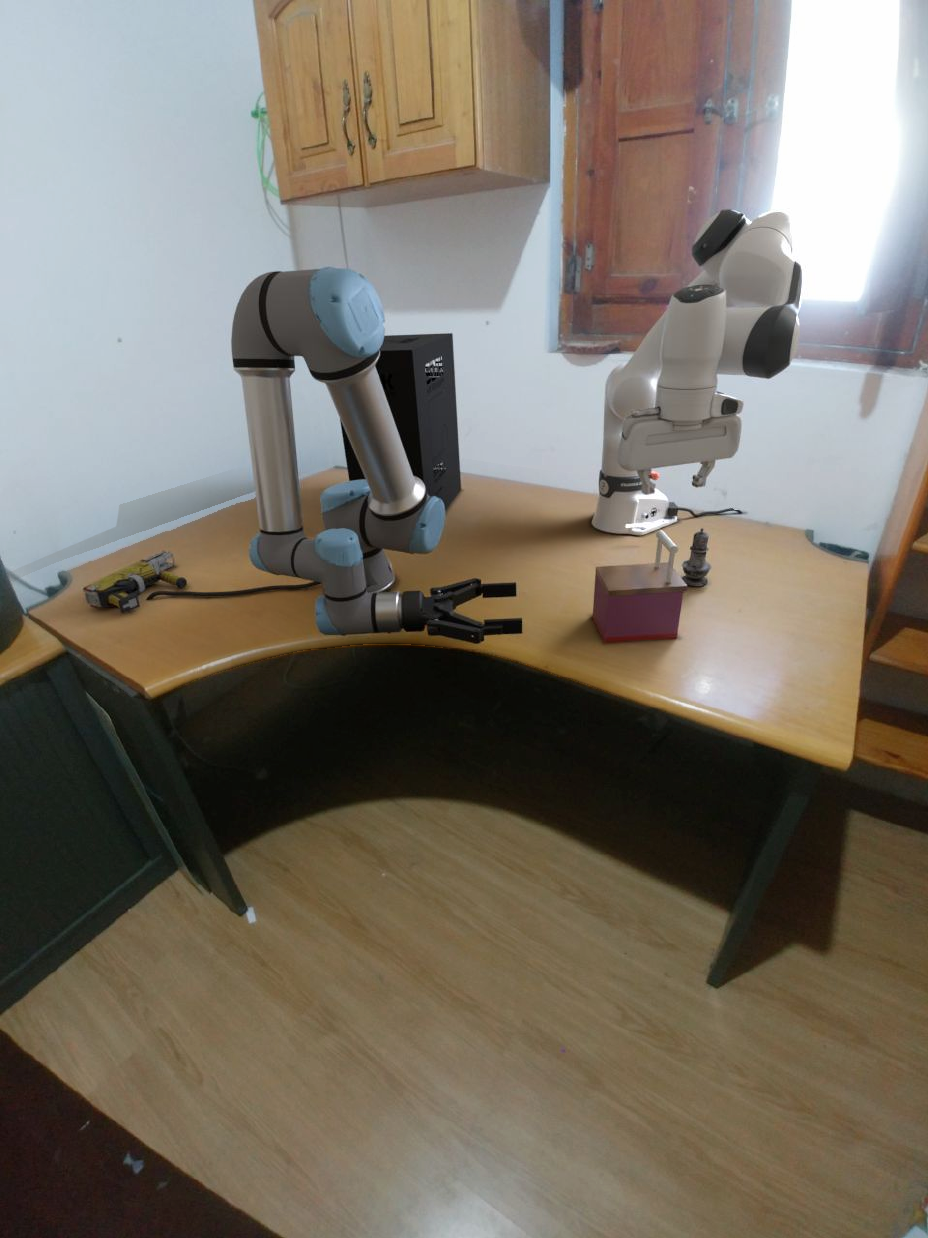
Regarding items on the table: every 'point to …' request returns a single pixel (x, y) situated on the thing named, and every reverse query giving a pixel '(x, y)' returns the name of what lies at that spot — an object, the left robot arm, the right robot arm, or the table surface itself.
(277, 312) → the left robot arm
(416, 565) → the table surface
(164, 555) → the toy gun
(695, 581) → the pewter chess piece
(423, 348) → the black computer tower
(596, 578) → the chest
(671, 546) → the lid
